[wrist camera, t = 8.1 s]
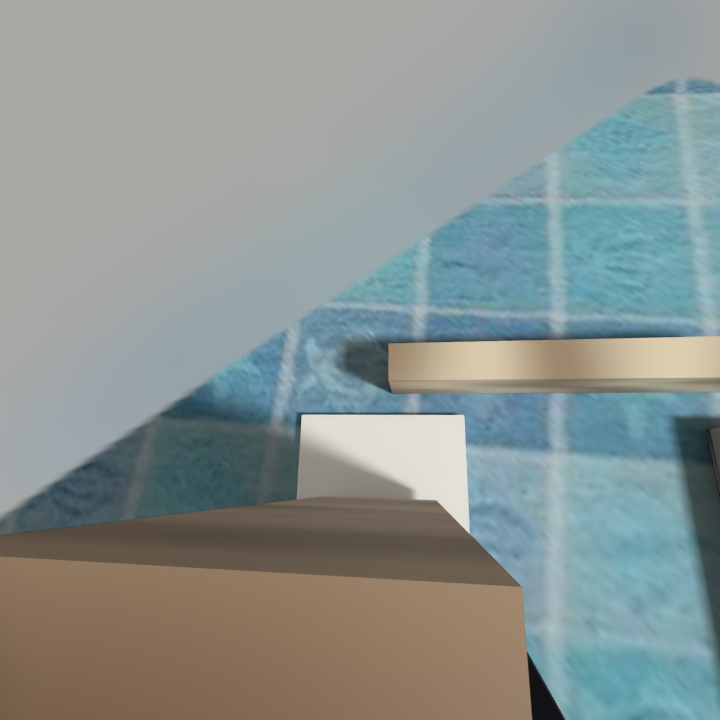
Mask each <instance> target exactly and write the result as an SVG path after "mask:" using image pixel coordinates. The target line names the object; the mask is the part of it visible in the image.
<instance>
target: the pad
mask: <svg viewBox="0 0 720 720" xmlns="http://www.w3.org/2000/svg"><path fill="white" fill-rule="evenodd" d="M313 497H352V498H384V499H416V500H437V501H438V502H439V503H440V504H441V505H442V506H443V507H444V508H445V509H446V511H447V512H448V513H449V514H450V515H451V516H452V517H453V518H454V519H455V520H456V521H457V522H458V523H459V524H460V525H461V526H462V527H463V528H464V529H465V530H466V531H467V532H468V533H469V534H470V529H469V508H468V486H467V465H466V444H465V422H464V415H302V420H301V435H300V451H299V467H298V483H297V498H296V499H304V498H313Z"/></svg>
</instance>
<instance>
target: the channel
mask: <svg viewBox="0 0 720 720" xmlns="http://www.w3.org/2000/svg"><path fill="white" fill-rule="evenodd" d="M388 381H389V384H390V387H391V390H392V393H393V394H411V393H629V392H720V336H709V337H663V338H616V339H570V340H524V341H477V342H431V343H389V357H388Z"/></svg>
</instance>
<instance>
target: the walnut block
mask: <svg viewBox="0 0 720 720" xmlns="http://www.w3.org/2000/svg"><path fill="white" fill-rule="evenodd" d="M0 720H532V711H531V698H530V686H529V673H528V660H527V647H526V634H525V621H524V609H523V596H522V587H521V586H520V585H519V584H518V583H517V582H516V581H515V580H514V579H513V577H512V576H511V575H510V574H509V573H508V572H507V571H506V570H505V569H504V568H503V567H502V566H501V565H500V564H499V563H498V562H497V561H496V560H495V559H494V558H493V557H492V556H491V555H490V554H489V553H488V552H487V551H486V550H485V549H484V548H483V547H482V546H481V545H480V544H479V543H478V542H477V541H476V540H475V539H474V538H473V537H472V536H471V535H470V534H469V533H468V532H467V531H466V530H465V529H464V528H463V527H462V526H461V525H460V524H459V523H458V522H457V521H456V520H455V519H454V518H453V517H452V516H451V515H450V514H449V513H448V512H447V511H446V509H445V508H444V507H443V506H442V505H441V504H440V503H439V502H438V501H437V500H416V499H384V498H352V497H313V498H304V499H296V500H288V501H280V502H272V503H263V504H255V505H247V506H239V507H230V508H222V509H214V510H206V511H198V512H189V513H181V514H173V515H165V516H157V517H148V518H140V519H132V520H124V521H116V522H107V523H99V524H91V525H83V526H74V527H66V528H58V529H50V530H42V531H33V532H25V533H17V534H9V535H1V536H0Z"/></svg>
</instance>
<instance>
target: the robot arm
mask: <svg viewBox="0 0 720 720" xmlns="http://www.w3.org/2000/svg"><path fill="white" fill-rule="evenodd" d="M527 660H528V673H529V686H530V698H531V711H532V720H565V718H564V716H563V715H562V713H561V711H560V709H559V707H558V706H557V704H556V702H555V700H554V698H553V697H552V695H551V693H550V691H549V690H548V688H547V686H546V684H545V682H544V681H543V679H542V677H541V675H540V674H539V672H538V670H537V668H536V666H535V665H534V663H533V661H532V659H531V657H530V656H529V654H528V652H527Z"/></svg>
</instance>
